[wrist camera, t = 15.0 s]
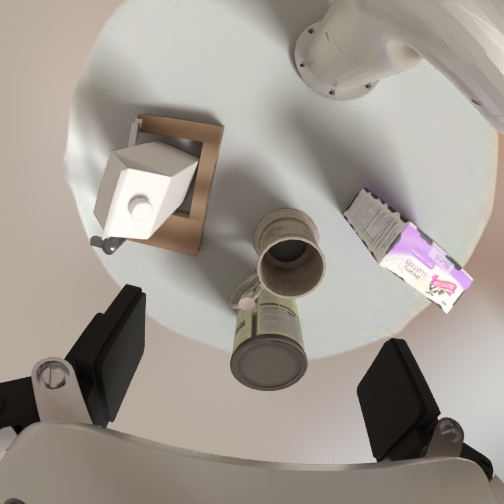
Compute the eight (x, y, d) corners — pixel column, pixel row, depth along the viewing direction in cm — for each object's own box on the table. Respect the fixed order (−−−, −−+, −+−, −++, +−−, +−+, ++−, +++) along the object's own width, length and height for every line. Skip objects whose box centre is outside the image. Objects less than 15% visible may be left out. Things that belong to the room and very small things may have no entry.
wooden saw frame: (144, 114, 38) (138, 114, 36) (224, 126, 39) (222, 126, 37) (129, 233, 46) (123, 238, 44) (199, 249, 47) (196, 256, 45)
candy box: (421, 233, 44) (476, 280, 29) (401, 260, 46) (446, 316, 31) (362, 184, 42) (411, 219, 27) (340, 216, 44) (377, 265, 29)
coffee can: (292, 334, 53) (298, 393, 40) (235, 328, 53) (227, 387, 40) (304, 286, 49) (316, 342, 36) (241, 278, 49) (233, 334, 36)
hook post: (116, 216, 42) (88, 236, 35) (138, 221, 43) (114, 243, 35) (115, 227, 43) (88, 249, 35) (137, 232, 43) (113, 256, 36)
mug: (297, 196, 43) (309, 222, 32) (329, 249, 46) (348, 288, 35) (216, 246, 47) (202, 286, 36) (252, 292, 50) (248, 340, 39)
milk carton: (142, 183, 43) (73, 225, 25) (158, 140, 40) (90, 156, 23) (183, 202, 44) (134, 255, 26) (202, 159, 41) (158, 186, 24)
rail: (144, 118, 39) (131, 118, 35) (151, 119, 39) (139, 119, 35) (130, 218, 45) (118, 228, 41) (137, 220, 45) (125, 230, 41)
